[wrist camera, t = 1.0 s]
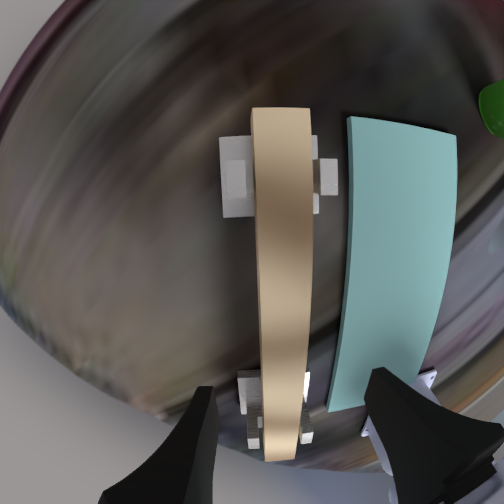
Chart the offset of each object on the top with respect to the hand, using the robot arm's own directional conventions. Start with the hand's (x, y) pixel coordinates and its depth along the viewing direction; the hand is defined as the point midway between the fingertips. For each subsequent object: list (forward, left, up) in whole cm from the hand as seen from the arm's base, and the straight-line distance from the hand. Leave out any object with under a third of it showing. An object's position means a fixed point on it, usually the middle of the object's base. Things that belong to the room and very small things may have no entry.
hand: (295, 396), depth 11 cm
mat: (0, -10, -9) cm, 14 cm away
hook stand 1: (+9, 0, -9) cm, 13 cm away
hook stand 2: (-9, 0, -9) cm, 13 cm away
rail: (0, 0, -5) cm, 5 cm away
